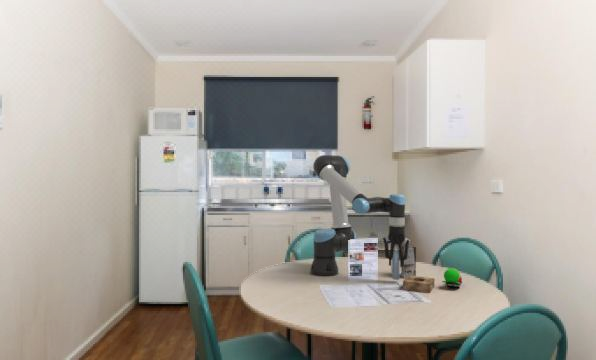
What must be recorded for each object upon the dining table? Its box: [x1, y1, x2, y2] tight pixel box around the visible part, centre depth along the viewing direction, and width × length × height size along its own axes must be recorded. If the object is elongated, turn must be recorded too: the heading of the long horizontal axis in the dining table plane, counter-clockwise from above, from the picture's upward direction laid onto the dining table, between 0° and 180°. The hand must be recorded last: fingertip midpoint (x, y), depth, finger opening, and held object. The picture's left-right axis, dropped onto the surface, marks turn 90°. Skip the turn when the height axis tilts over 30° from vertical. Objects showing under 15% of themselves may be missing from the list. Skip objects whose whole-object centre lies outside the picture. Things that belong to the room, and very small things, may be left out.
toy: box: [442, 267, 463, 289], centre depth 201 cm, size 8×8×15 cm
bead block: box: [402, 275, 435, 294], centre depth 198 cm, size 12×12×4 cm
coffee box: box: [399, 244, 417, 279], centre depth 221 cm, size 9×6×16 cm
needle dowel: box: [392, 247, 400, 281], centre depth 209 cm, size 3×3×15 cm
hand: (396, 272), depth 209 cm, fingers closed on needle dowel, 3 cm apart
